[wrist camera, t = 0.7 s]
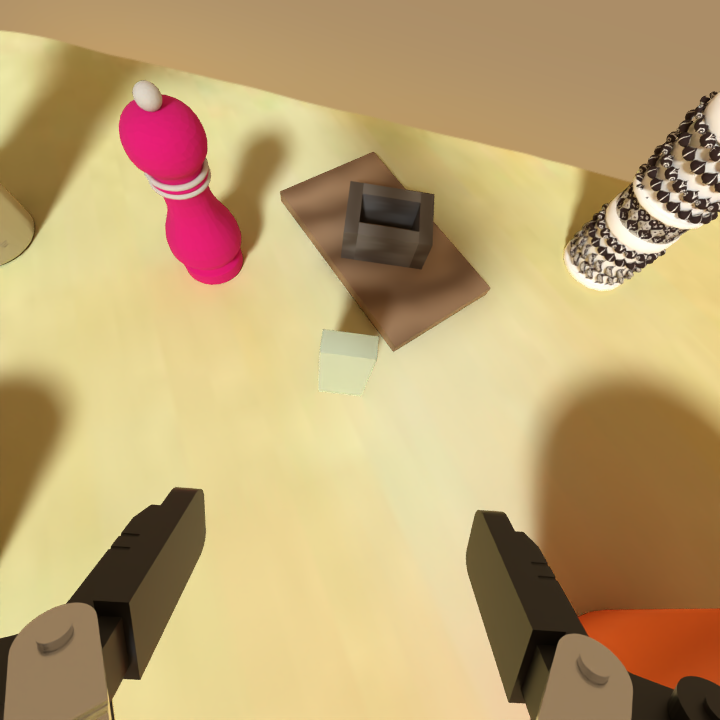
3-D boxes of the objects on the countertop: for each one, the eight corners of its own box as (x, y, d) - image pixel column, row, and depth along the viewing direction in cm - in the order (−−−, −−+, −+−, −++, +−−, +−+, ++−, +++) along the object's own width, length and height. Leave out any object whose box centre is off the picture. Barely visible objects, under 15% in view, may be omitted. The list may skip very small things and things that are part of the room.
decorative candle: (555, 230, 51) (755, 3, 28) (619, 237, 52) (866, 23, 29) (565, 289, 48) (800, 88, 25) (634, 296, 49) (924, 108, 26)
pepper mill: (252, 282, 44) (206, 117, 25) (186, 294, 42) (84, 128, 23) (241, 231, 46) (191, 44, 27) (178, 240, 44) (79, 50, 26)
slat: (318, 391, 40) (319, 352, 30) (320, 373, 41) (322, 328, 30) (360, 396, 40) (376, 359, 30) (362, 378, 41) (378, 336, 31)
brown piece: (393, 351, 42) (405, 328, 37) (281, 200, 48) (276, 160, 42) (485, 294, 46) (508, 266, 41) (371, 161, 52) (378, 119, 46)
